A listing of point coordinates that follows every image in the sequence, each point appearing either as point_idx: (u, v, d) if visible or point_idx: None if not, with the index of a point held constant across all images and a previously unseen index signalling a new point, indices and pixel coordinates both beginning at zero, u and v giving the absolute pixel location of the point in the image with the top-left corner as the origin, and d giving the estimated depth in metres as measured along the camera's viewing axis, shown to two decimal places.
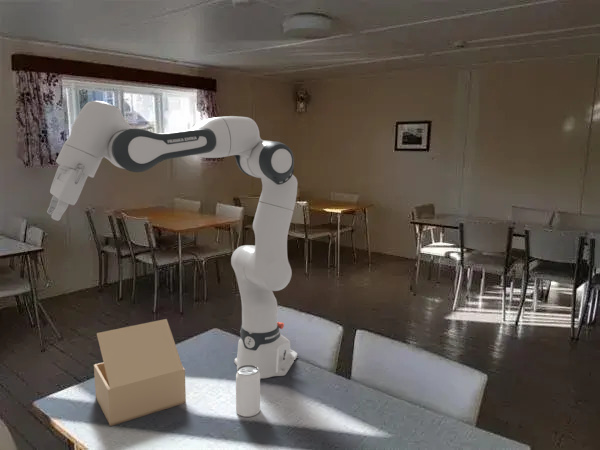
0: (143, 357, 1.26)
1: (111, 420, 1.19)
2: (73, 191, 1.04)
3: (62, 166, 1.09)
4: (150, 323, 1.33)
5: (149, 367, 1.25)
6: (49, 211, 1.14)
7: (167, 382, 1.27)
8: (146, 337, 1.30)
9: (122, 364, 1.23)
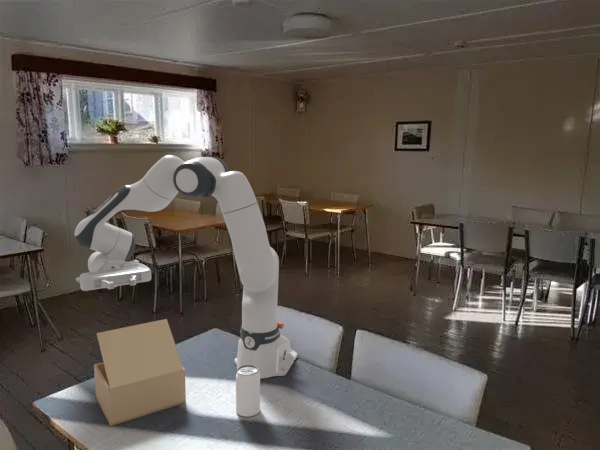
0: (143, 357, 1.26)
1: (111, 420, 1.19)
2: (80, 282, 1.37)
3: None
4: (150, 323, 1.33)
5: (149, 367, 1.25)
6: (130, 284, 1.39)
7: (167, 382, 1.27)
8: (146, 337, 1.30)
9: (122, 364, 1.23)
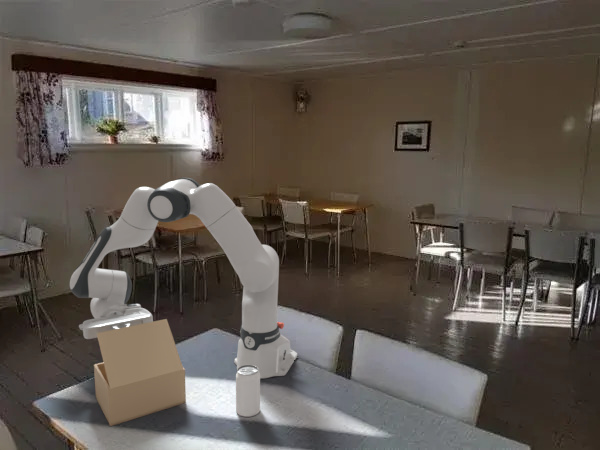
0: (143, 357, 1.26)
1: (111, 420, 1.19)
2: (83, 330, 1.40)
3: None
4: (150, 323, 1.33)
5: (149, 367, 1.25)
6: None
7: (167, 382, 1.27)
8: (146, 337, 1.30)
9: (122, 364, 1.23)
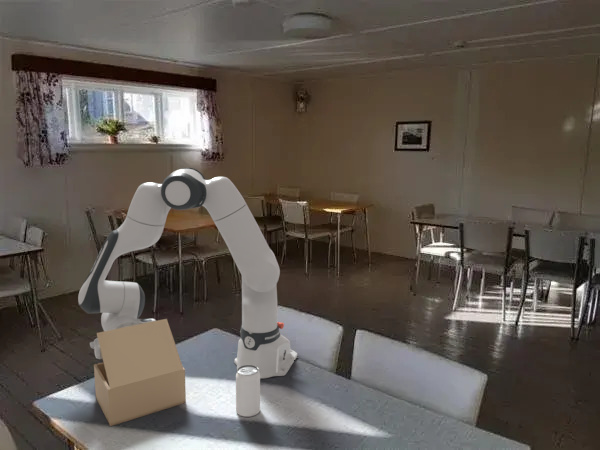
0: (143, 357, 1.26)
1: (111, 420, 1.19)
2: (94, 349, 1.28)
3: None
4: (150, 323, 1.33)
5: (149, 367, 1.25)
6: None
7: (167, 382, 1.27)
8: (146, 337, 1.30)
9: (122, 364, 1.23)
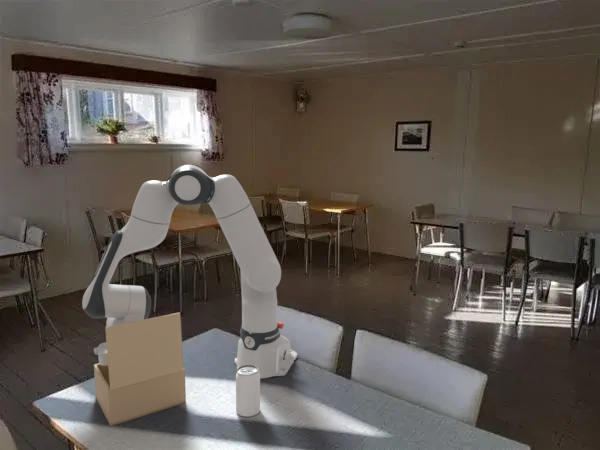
0: (148, 356, 1.23)
1: (111, 420, 1.19)
2: (98, 355, 1.23)
3: None
4: (162, 317, 1.24)
5: (152, 368, 1.23)
6: None
7: (167, 382, 1.27)
8: (155, 334, 1.23)
9: (125, 364, 1.19)
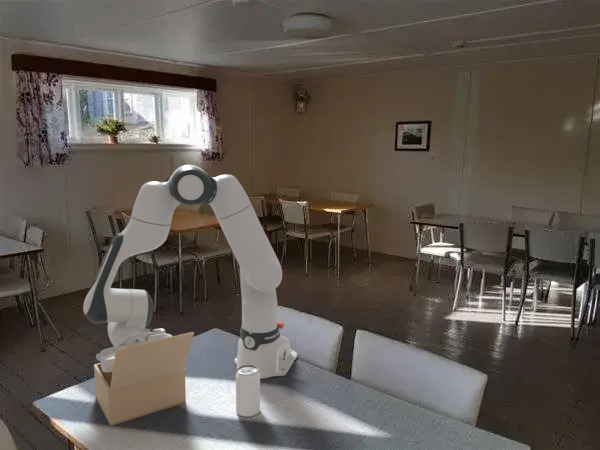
0: (153, 365, 1.20)
1: (111, 420, 1.19)
2: (101, 362, 1.21)
3: None
4: (175, 338, 1.17)
5: (154, 372, 1.22)
6: None
7: (167, 382, 1.27)
8: (164, 350, 1.18)
9: (129, 373, 1.17)
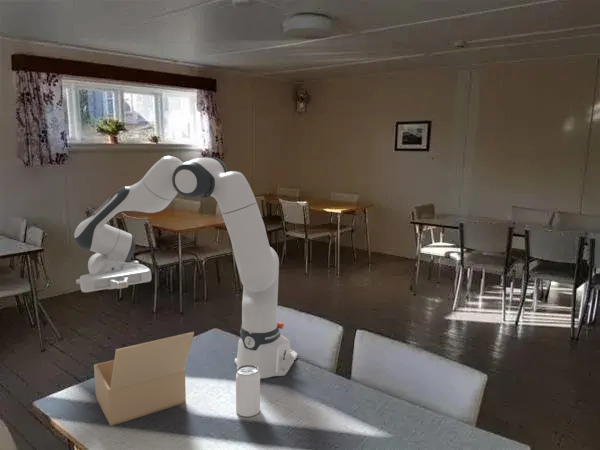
0: (153, 365, 1.20)
1: (111, 420, 1.19)
2: (80, 284, 1.37)
3: None
4: (175, 338, 1.17)
5: (154, 372, 1.22)
6: None
7: (167, 382, 1.27)
8: (164, 350, 1.18)
9: (129, 373, 1.17)
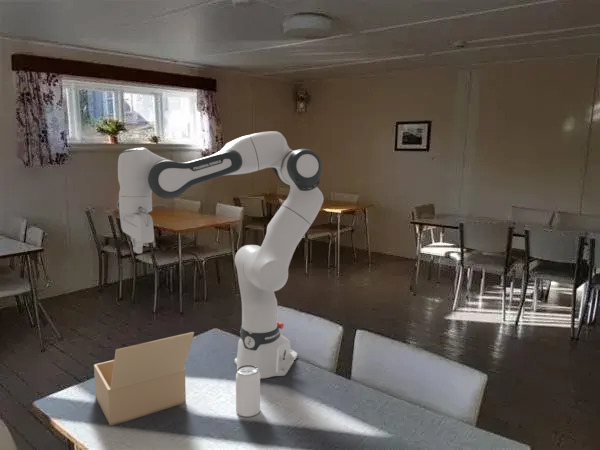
0: (153, 365, 1.20)
1: (111, 420, 1.19)
2: (148, 232, 1.28)
3: (127, 213, 1.32)
4: (175, 338, 1.17)
5: (154, 372, 1.22)
6: None
7: (167, 382, 1.27)
8: (164, 350, 1.18)
9: (129, 373, 1.17)
